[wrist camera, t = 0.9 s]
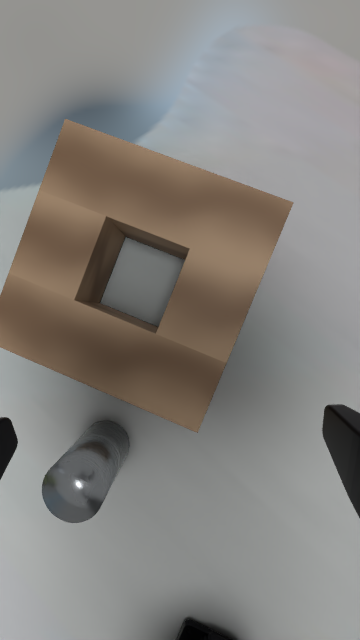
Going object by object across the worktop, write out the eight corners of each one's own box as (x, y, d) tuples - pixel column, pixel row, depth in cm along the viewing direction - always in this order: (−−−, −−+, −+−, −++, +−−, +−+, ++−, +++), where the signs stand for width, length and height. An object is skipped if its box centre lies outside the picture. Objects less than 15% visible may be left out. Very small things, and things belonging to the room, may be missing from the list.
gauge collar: (197, 408, 22) (197, 432, 17) (27, 335, 23) (-16, 340, 18) (273, 226, 21) (293, 202, 16) (92, 159, 22) (65, 118, 17)
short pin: (119, 474, 22) (89, 533, 16) (77, 455, 22) (33, 506, 17) (136, 432, 22) (112, 476, 16) (93, 413, 22) (55, 449, 16)
